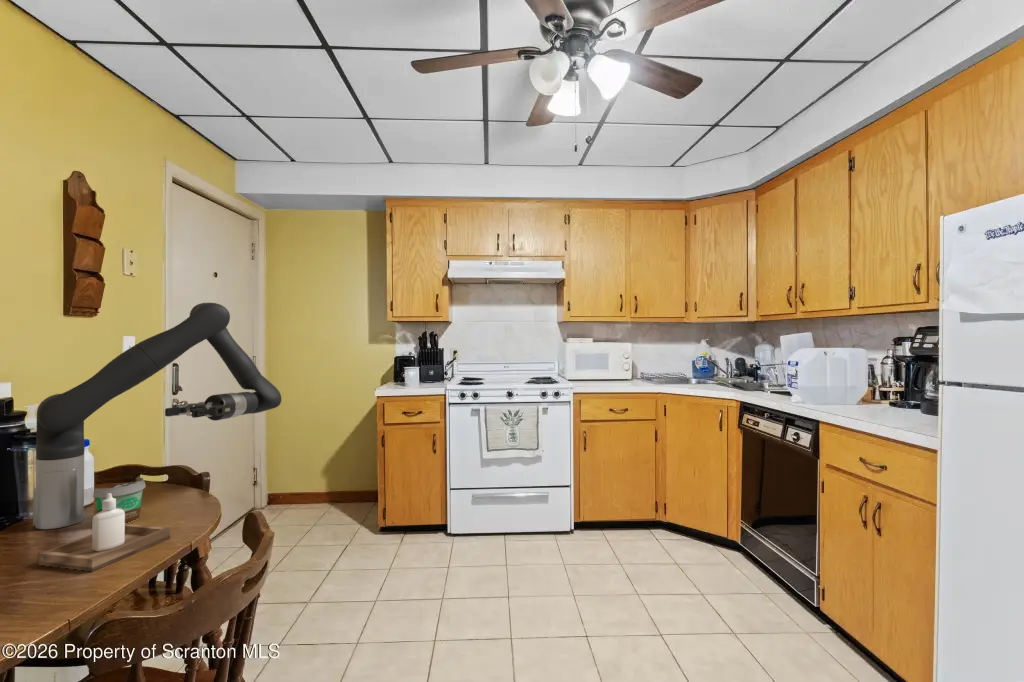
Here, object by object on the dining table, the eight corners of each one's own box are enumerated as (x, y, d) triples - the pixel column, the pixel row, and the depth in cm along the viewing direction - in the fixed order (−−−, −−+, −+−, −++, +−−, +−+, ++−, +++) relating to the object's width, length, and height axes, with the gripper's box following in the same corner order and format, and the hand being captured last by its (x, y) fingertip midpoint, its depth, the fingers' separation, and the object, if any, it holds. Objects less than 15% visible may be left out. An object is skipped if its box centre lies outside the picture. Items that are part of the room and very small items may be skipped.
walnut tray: (38, 565, 105) (38, 553, 105) (121, 533, 122) (122, 523, 122) (92, 571, 102) (92, 559, 102) (169, 538, 119) (169, 528, 119)
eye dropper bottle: (123, 547, 112) (124, 494, 112) (90, 553, 109) (91, 498, 109) (125, 541, 116) (125, 489, 116) (93, 546, 112) (94, 493, 112)
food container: (112, 531, 124) (113, 490, 124) (92, 529, 125) (93, 489, 125) (157, 514, 136) (157, 477, 136) (138, 512, 137) (138, 476, 137)
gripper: (205, 392, 151) (157, 398, 135) (246, 394, 148) (202, 399, 132) (205, 417, 151) (157, 426, 135) (246, 419, 148) (201, 428, 132)
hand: (179, 413), depth 134 cm, fingers open, 8 cm apart
